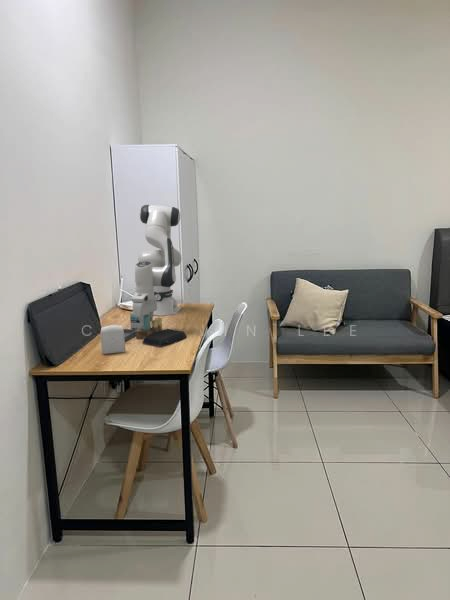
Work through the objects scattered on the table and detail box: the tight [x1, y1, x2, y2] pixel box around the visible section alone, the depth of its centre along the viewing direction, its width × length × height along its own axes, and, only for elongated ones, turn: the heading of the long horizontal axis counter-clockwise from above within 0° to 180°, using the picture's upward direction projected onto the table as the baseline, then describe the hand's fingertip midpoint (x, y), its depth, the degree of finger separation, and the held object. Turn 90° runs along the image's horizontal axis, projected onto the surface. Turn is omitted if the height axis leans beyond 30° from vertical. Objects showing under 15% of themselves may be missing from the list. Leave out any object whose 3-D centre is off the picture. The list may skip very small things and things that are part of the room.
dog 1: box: [151, 319, 158, 332], centre depth 232 cm, size 3×3×7 cm
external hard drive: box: [141, 328, 188, 348], centre depth 220 cm, size 13×19×4 cm
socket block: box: [135, 327, 157, 340], centre depth 227 cm, size 8×8×4 cm
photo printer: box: [100, 324, 126, 355], centre depth 203 cm, size 10×4×12 cm, turn 105°
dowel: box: [143, 315, 150, 331], centre depth 226 cm, size 4×4×11 cm
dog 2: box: [154, 317, 163, 331], centre depth 237 cm, size 3×3×7 cm
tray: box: [123, 328, 137, 343], centre depth 227 cm, size 14×9×2 cm, turn 164°
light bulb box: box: [129, 311, 152, 330], centre depth 238 cm, size 11×7×11 cm, turn 164°
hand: (146, 322), depth 226 cm, fingers open, 8 cm apart
